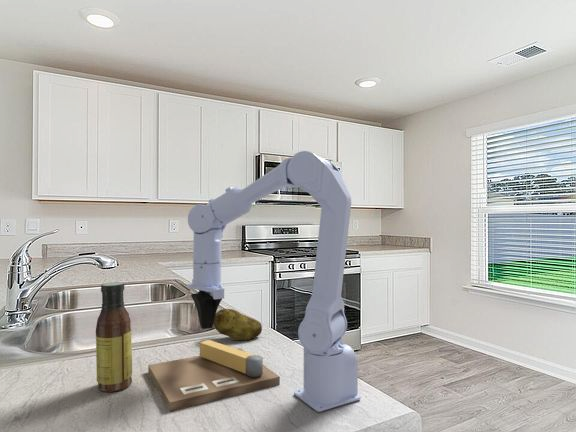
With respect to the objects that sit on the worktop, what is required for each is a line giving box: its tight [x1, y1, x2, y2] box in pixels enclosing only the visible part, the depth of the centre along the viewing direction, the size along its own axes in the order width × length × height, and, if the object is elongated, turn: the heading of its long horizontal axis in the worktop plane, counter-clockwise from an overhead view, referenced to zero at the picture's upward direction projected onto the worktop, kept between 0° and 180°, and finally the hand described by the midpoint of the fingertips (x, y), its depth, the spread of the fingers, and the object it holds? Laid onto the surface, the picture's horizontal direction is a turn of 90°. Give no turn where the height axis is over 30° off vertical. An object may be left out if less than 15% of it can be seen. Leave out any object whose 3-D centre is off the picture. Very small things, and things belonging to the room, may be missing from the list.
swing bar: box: [199, 339, 264, 377], centre depth 79 cm, size 18×3×3 cm, turn 50°
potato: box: [213, 308, 263, 341], centre depth 103 cm, size 8×13×8 cm, turn 81°
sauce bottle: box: [95, 281, 133, 393], centre depth 72 cm, size 7×6×20 cm
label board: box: [147, 348, 281, 412], centre depth 76 cm, size 21×19×2 cm
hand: (206, 327), depth 79 cm, fingers closed
